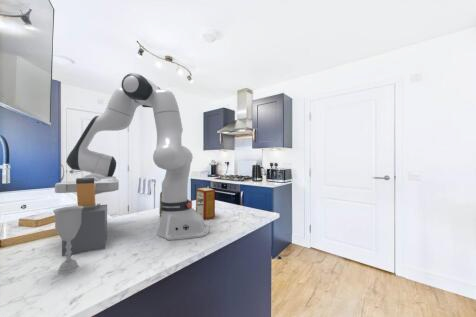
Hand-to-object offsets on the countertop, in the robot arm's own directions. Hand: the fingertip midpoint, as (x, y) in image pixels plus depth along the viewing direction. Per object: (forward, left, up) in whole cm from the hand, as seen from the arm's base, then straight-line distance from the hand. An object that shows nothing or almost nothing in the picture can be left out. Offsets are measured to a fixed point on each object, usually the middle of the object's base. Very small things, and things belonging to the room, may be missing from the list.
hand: (85, 188), depth 73 cm
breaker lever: (0, -1, -7) cm, 7 cm away
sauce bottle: (-19, -37, -22) cm, 47 cm away
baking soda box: (-41, -36, -22) cm, 59 cm away
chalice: (-4, +14, -22) cm, 27 cm away
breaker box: (0, -1, -22) cm, 22 cm away
